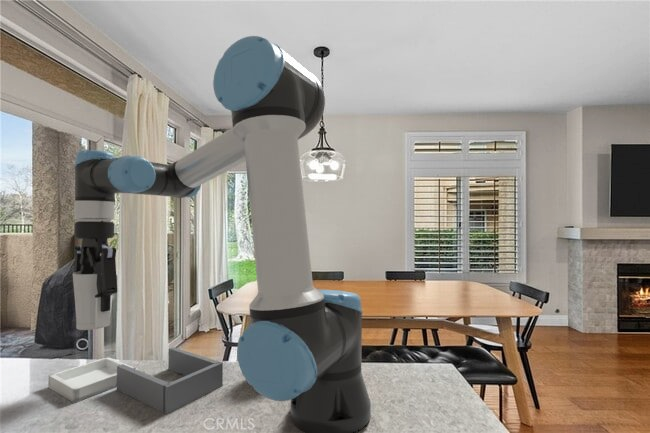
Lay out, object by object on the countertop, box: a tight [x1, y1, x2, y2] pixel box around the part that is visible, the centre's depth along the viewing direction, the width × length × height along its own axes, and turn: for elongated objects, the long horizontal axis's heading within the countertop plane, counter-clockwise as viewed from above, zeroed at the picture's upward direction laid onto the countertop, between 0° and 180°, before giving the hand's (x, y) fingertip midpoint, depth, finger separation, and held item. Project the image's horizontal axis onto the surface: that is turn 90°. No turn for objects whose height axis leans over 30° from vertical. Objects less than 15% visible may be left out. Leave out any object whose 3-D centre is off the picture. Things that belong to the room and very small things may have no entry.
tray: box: [47, 356, 137, 404], centre depth 78 cm, size 12×12×3 cm
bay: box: [116, 346, 224, 415], centre depth 76 cm, size 18×13×5 cm
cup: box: [72, 271, 114, 331], centre depth 78 cm, size 8×8×12 cm
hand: (93, 322), depth 78 cm, fingers closed on cup, 7 cm apart
